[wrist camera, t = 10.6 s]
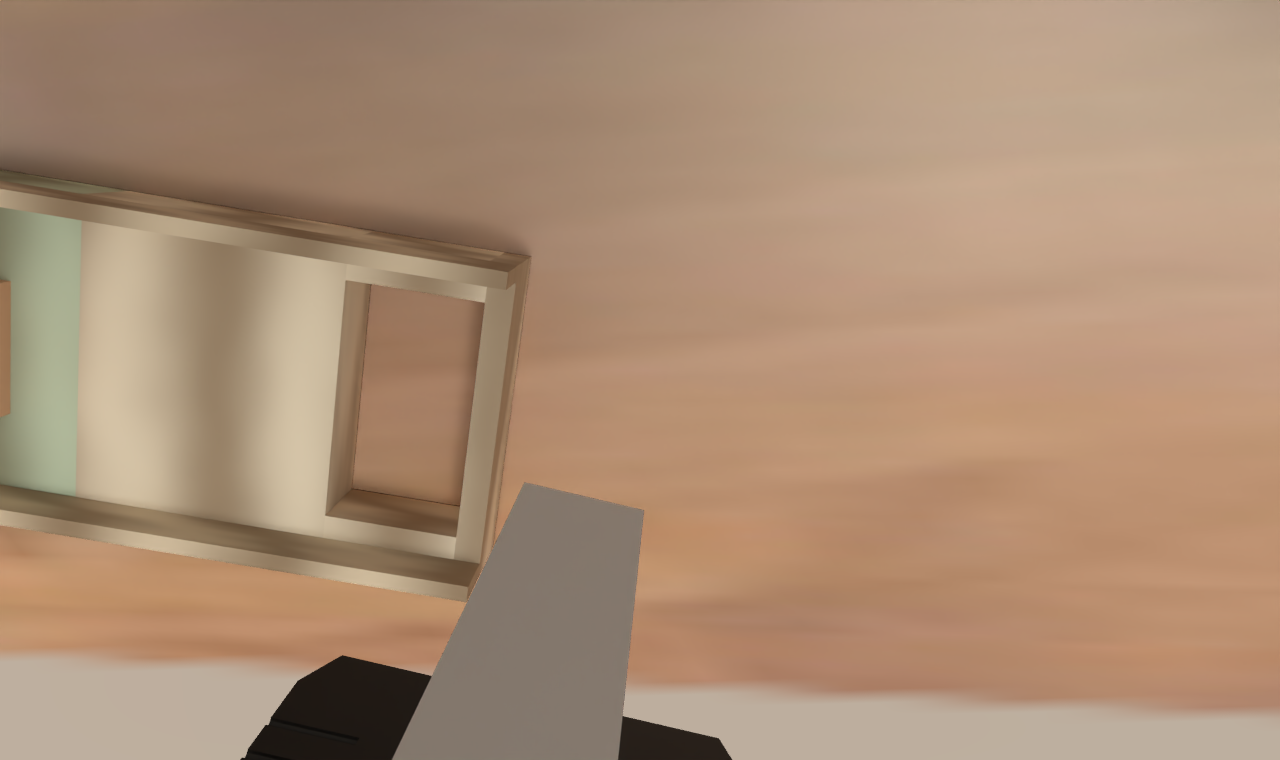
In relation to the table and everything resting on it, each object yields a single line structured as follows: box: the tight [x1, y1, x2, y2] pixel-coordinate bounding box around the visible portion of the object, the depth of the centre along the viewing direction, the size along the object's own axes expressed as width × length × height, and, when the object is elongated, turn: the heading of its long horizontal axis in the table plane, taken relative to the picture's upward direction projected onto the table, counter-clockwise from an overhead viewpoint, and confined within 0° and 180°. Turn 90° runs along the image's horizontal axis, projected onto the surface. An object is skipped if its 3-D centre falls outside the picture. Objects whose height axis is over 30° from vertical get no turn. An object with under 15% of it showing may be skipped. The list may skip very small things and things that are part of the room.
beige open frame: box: [0, 170, 531, 602], centre depth 35 cm, size 30×12×5 cm, turn 81°
